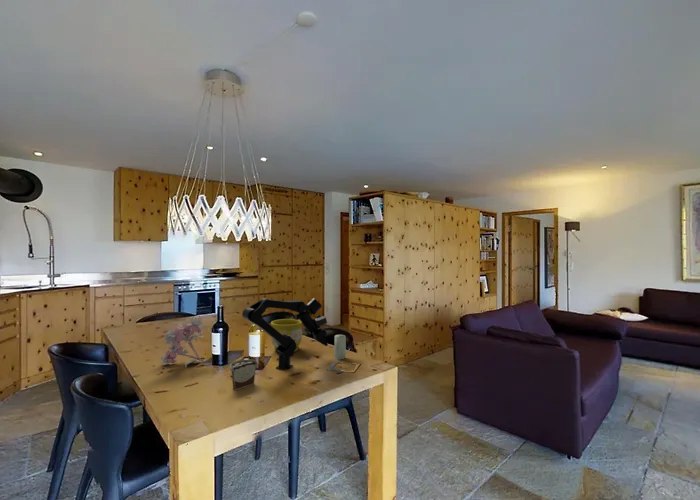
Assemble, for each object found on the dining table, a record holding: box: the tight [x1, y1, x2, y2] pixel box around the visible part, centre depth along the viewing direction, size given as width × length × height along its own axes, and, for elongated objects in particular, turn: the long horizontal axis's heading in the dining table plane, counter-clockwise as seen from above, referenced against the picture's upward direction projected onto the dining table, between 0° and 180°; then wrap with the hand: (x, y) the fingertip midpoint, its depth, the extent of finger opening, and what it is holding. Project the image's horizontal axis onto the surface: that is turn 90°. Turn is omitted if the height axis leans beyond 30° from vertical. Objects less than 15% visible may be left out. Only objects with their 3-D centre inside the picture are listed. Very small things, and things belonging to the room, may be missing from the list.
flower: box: [159, 315, 205, 368], centre depth 180 cm, size 20×22×25 cm
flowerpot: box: [270, 318, 303, 353], centre depth 206 cm, size 18×18×16 cm
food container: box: [229, 358, 258, 391], centre depth 152 cm, size 12×6×10 cm, turn 141°
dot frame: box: [325, 360, 342, 372], centre depth 177 cm, size 14×14×1 cm
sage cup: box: [333, 334, 347, 360], centre depth 191 cm, size 6×6×12 cm
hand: (323, 343), depth 187 cm, fingers open, 9 cm apart
